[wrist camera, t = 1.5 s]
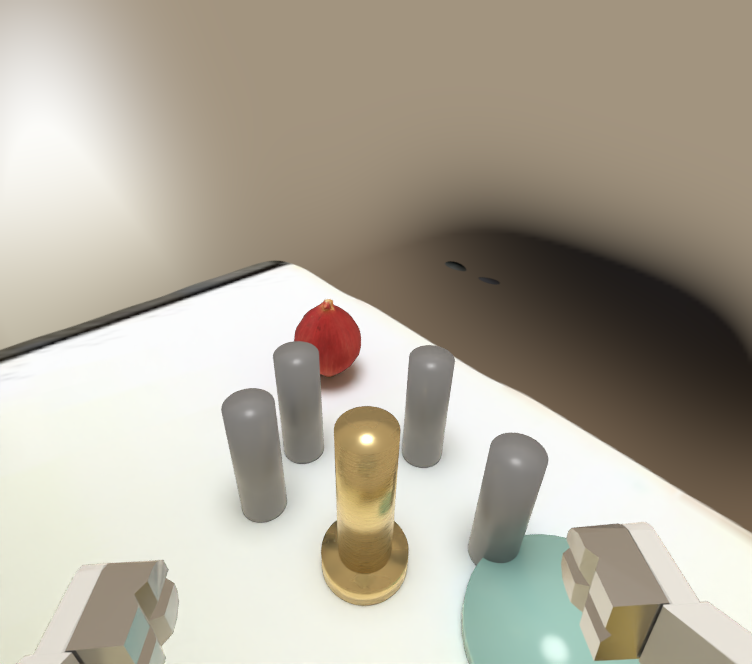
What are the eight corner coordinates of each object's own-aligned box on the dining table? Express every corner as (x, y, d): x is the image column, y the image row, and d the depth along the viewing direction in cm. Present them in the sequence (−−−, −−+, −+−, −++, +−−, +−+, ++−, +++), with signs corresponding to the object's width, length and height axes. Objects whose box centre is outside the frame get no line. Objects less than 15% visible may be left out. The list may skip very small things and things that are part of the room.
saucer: (477, 764, 22) (481, 755, 22) (451, 542, 31) (453, 531, 31) (719, 772, 22) (730, 764, 22) (623, 548, 31) (629, 537, 31)
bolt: (317, 604, 28) (305, 470, 22) (326, 523, 32) (319, 391, 26) (408, 607, 28) (424, 473, 22) (405, 526, 32) (418, 394, 26)
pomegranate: (283, 374, 45) (276, 298, 40) (330, 347, 49) (327, 275, 44) (326, 404, 42) (323, 326, 37) (373, 374, 45) (375, 299, 41)
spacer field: (224, 565, 30) (197, 466, 25) (262, 432, 39) (248, 339, 34) (521, 575, 30) (555, 477, 25) (490, 439, 39) (510, 347, 34)
